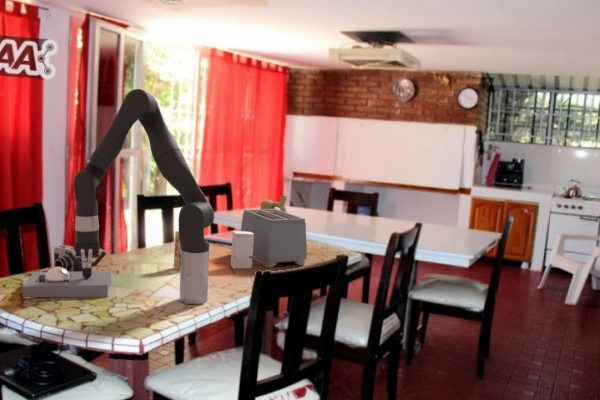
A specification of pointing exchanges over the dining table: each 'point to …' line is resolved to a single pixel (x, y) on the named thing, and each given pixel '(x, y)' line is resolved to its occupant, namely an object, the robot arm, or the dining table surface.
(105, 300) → the dining table surface
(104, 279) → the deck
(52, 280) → the ball
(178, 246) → the candy box
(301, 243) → the toaster
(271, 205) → the tan irregular piece
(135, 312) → the dining table surface
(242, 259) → the skincare box
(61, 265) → the camera
